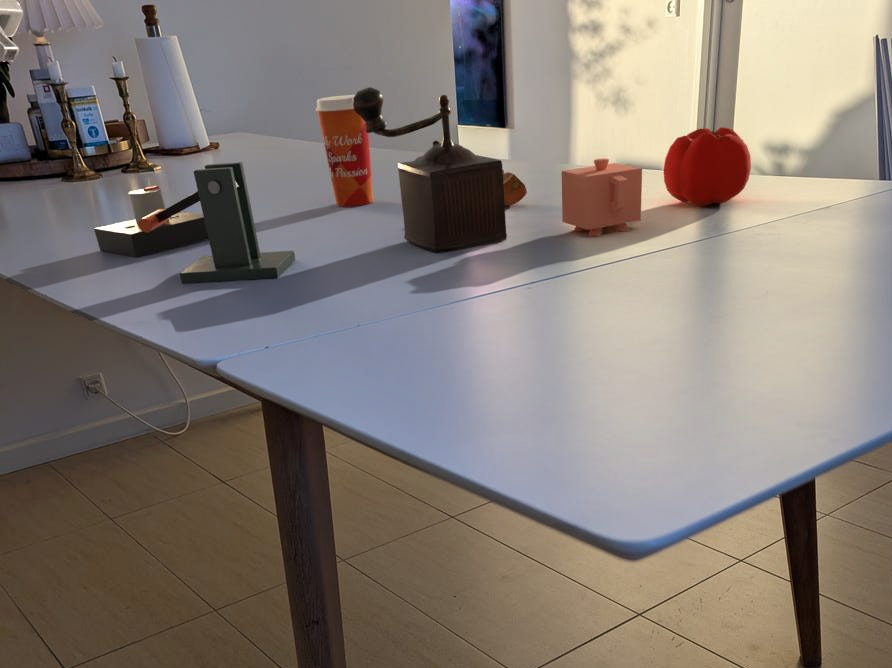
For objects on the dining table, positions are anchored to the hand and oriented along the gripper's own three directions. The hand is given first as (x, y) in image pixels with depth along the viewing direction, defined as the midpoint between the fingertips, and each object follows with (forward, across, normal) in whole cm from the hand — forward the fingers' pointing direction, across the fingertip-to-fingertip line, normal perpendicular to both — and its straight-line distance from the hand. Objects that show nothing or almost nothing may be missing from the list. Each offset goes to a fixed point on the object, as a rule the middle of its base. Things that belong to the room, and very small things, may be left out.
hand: (10, 56), depth 101 cm
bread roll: (+51, +38, -20) cm, 67 cm away
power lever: (+24, +3, 0) cm, 24 cm away
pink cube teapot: (+62, +18, -29) cm, 71 cm away
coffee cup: (+33, +48, -2) cm, 58 cm away
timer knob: (+15, +23, +13) cm, 30 cm away
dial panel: (+17, +23, +16) cm, 33 cm away
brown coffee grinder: (+48, +14, -14) cm, 52 cm away
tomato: (+72, +32, -40) cm, 88 cm away
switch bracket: (+31, +3, +2) cm, 32 cm away
